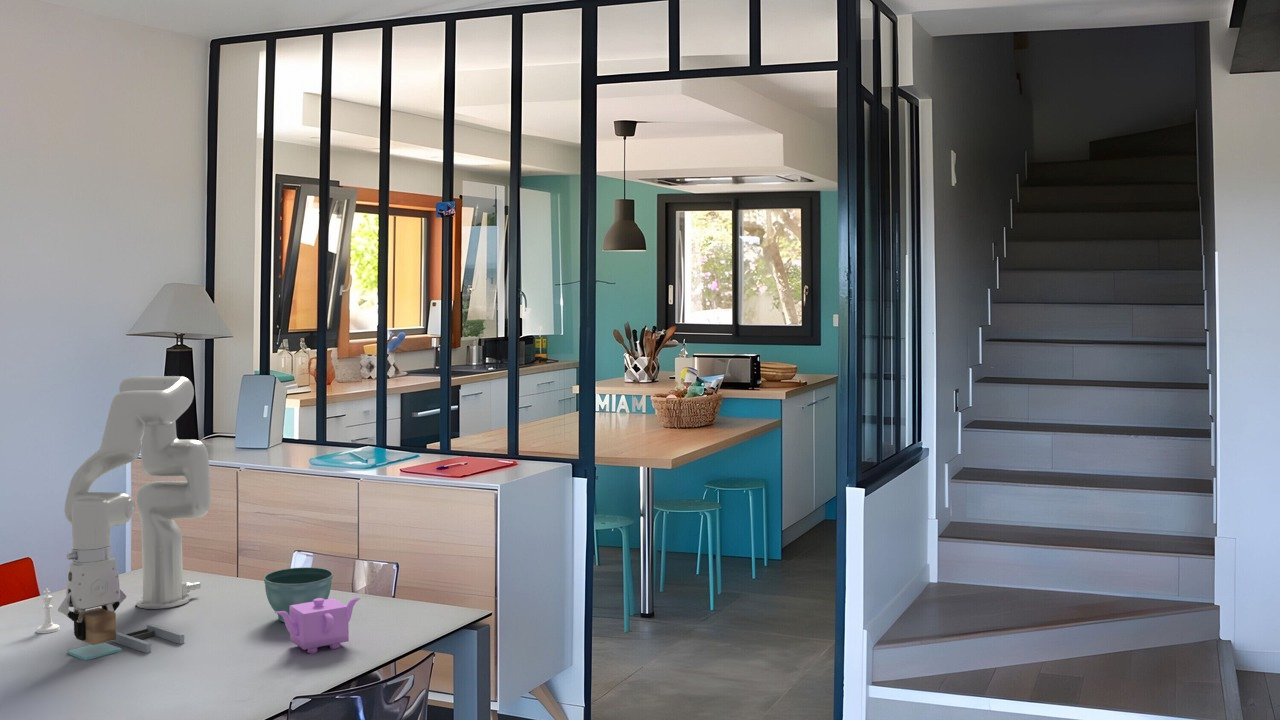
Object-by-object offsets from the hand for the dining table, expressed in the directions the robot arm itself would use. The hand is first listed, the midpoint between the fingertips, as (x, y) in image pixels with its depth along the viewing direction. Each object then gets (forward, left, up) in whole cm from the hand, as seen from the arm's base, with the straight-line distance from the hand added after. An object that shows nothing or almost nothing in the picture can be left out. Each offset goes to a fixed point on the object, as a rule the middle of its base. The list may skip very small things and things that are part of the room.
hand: (93, 635), depth 240 cm
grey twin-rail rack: (-11, +3, -4) cm, 12 cm away
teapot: (-32, +37, -4) cm, 49 cm away
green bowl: (-43, +15, -4) cm, 46 cm away
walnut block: (0, +1, -1) cm, 2 cm away
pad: (0, 0, -4) cm, 4 cm away
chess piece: (-2, -25, -4) cm, 26 cm away
